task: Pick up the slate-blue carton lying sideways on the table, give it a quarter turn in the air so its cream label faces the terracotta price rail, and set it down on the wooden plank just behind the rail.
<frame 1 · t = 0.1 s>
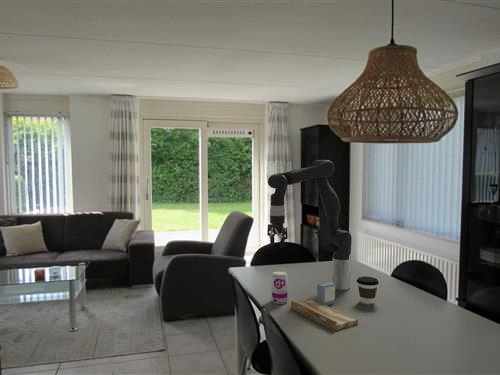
hand: (277, 246, 200), 29 cm above the table, fingers open, 8 cm apart
coffee cup: (367, 302, 202), on the table
wooden plank: (322, 315, 184), on the table
carton: (326, 303, 201), on the table
supplement can: (279, 302, 203), on the table
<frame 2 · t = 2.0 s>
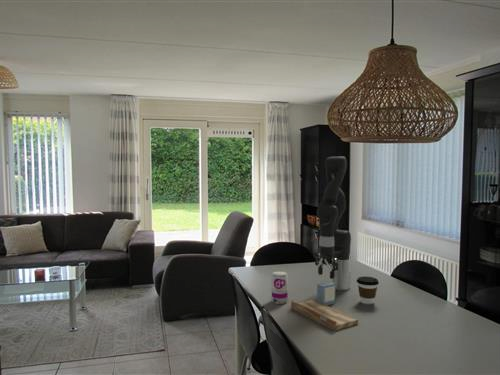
hand: (326, 276, 200), 14 cm above the table, fingers open, 8 cm apart
nothing on the table moved.
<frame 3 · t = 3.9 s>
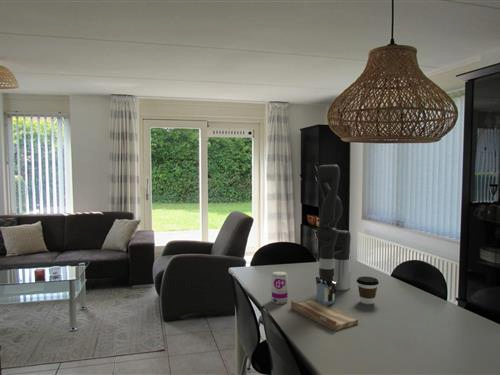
hand: (326, 299, 201), 2 cm above the table, fingers closed on carton, 5 cm apart
carton: (325, 303, 201), on the table, touching gripper
everything else where it was.
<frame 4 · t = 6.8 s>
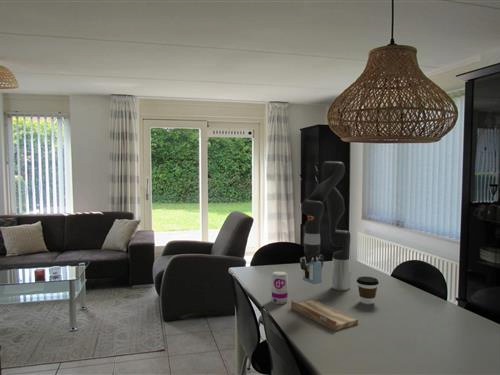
hand: (311, 277, 188), 17 cm above the table, fingers closed on carton, 5 cm apart
carton: (312, 281, 188), point 15 cm above the table, touching gripper
everything else where it was.
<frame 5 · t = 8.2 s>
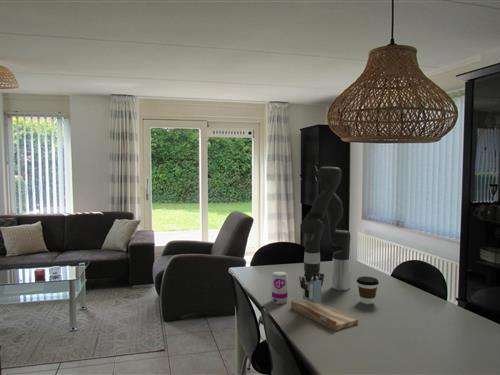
hand: (311, 296, 189), 8 cm above the table, fingers closed on carton, 5 cm apart
carton: (311, 300, 189), point 6 cm above the table, touching gripper
everything else where it was.
when the fingers open (5 cm above the table, at t = 9.6 s): carton drops 1 cm, resting on wooden plank.
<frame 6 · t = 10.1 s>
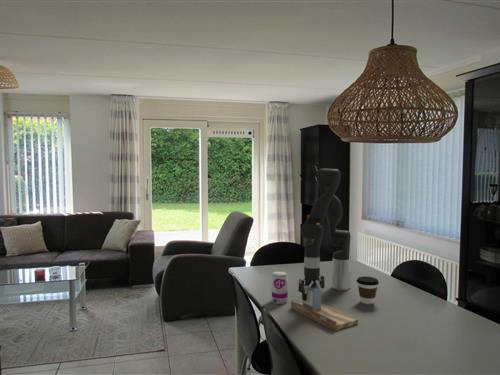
hand: (311, 299, 189), 6 cm above the table, fingers open, 8 cm apart
carton: (311, 307, 189), point 2 cm above the table, touching wooden plank
everything else where it was.
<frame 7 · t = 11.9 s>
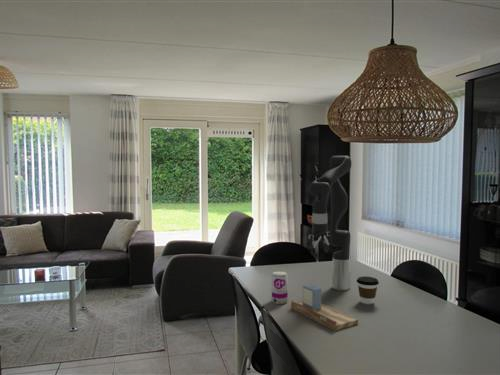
hand: (319, 253, 199), 26 cm above the table, fingers open, 8 cm apart
nothing on the table moved.
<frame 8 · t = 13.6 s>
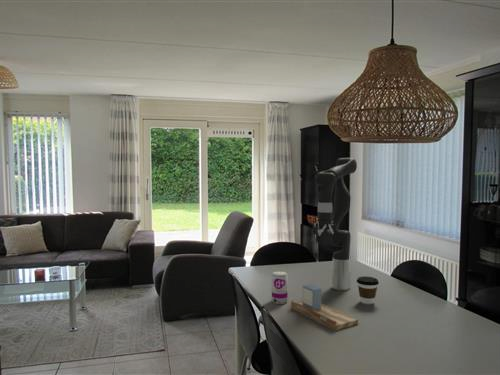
hand: (324, 241, 206), 30 cm above the table, fingers open, 8 cm apart
nothing on the table moved.
at the end: carton inside the target area on the wooden plank (7.1 cm from its centre), point 2.0 cm above the wooden plank's base; carton tilted 0°; carton moved 14.8 cm from its start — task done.
